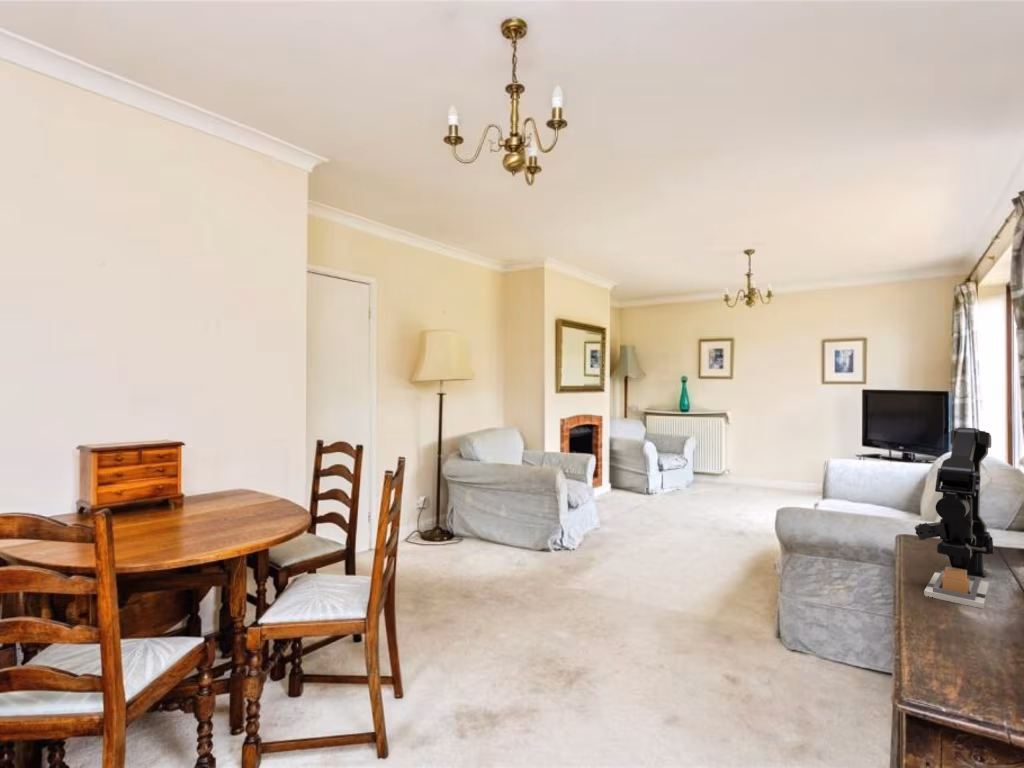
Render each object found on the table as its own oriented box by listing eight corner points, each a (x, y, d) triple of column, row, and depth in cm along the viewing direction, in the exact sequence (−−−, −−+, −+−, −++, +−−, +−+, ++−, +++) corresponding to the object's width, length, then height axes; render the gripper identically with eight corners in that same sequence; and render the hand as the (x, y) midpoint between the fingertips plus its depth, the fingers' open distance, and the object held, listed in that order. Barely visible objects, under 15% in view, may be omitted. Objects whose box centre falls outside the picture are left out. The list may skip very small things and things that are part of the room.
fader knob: (944, 585, 136) (944, 564, 136) (969, 590, 133) (969, 569, 133) (942, 589, 133) (942, 568, 134) (967, 594, 130) (967, 573, 130)
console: (935, 576, 147) (935, 568, 147) (988, 587, 139) (988, 578, 139) (924, 595, 133) (924, 586, 133) (983, 608, 125) (983, 599, 125)
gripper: (922, 505, 148) (922, 562, 148) (911, 515, 135) (911, 578, 134) (976, 511, 140) (976, 572, 140) (970, 523, 127) (970, 590, 127)
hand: (957, 577), depth 136 cm, fingers closed
